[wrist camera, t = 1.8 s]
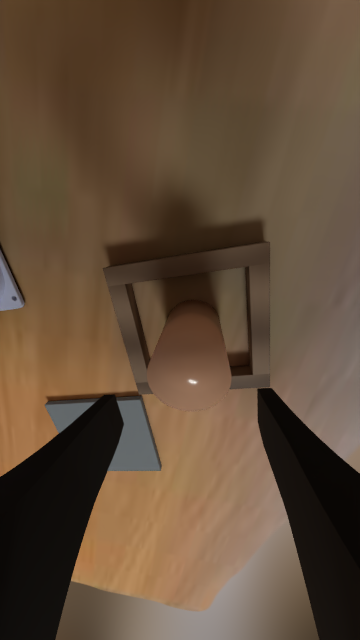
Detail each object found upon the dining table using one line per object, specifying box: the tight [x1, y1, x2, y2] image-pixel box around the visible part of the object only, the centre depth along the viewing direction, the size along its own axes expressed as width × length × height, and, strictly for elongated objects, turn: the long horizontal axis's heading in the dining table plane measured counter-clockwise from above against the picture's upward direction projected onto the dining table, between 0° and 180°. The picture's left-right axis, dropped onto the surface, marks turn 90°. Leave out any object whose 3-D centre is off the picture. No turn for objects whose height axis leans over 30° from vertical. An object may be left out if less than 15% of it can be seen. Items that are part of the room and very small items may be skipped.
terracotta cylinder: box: [147, 300, 231, 411], centre depth 16 cm, size 5×5×8 cm
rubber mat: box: [45, 396, 162, 471], centre depth 26 cm, size 12×12×1 cm
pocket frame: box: [103, 242, 270, 395], centre depth 19 cm, size 13×13×2 cm
